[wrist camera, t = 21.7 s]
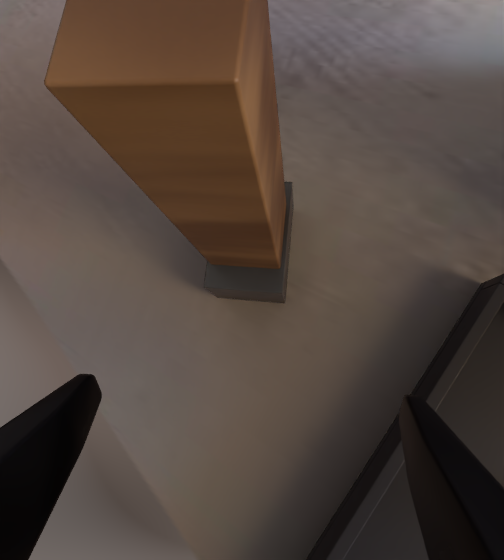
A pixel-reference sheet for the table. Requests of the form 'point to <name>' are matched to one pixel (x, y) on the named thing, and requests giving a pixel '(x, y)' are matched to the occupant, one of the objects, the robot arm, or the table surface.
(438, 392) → the pan
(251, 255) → the wooden block on stand
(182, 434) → the table surface
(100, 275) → the table surface
